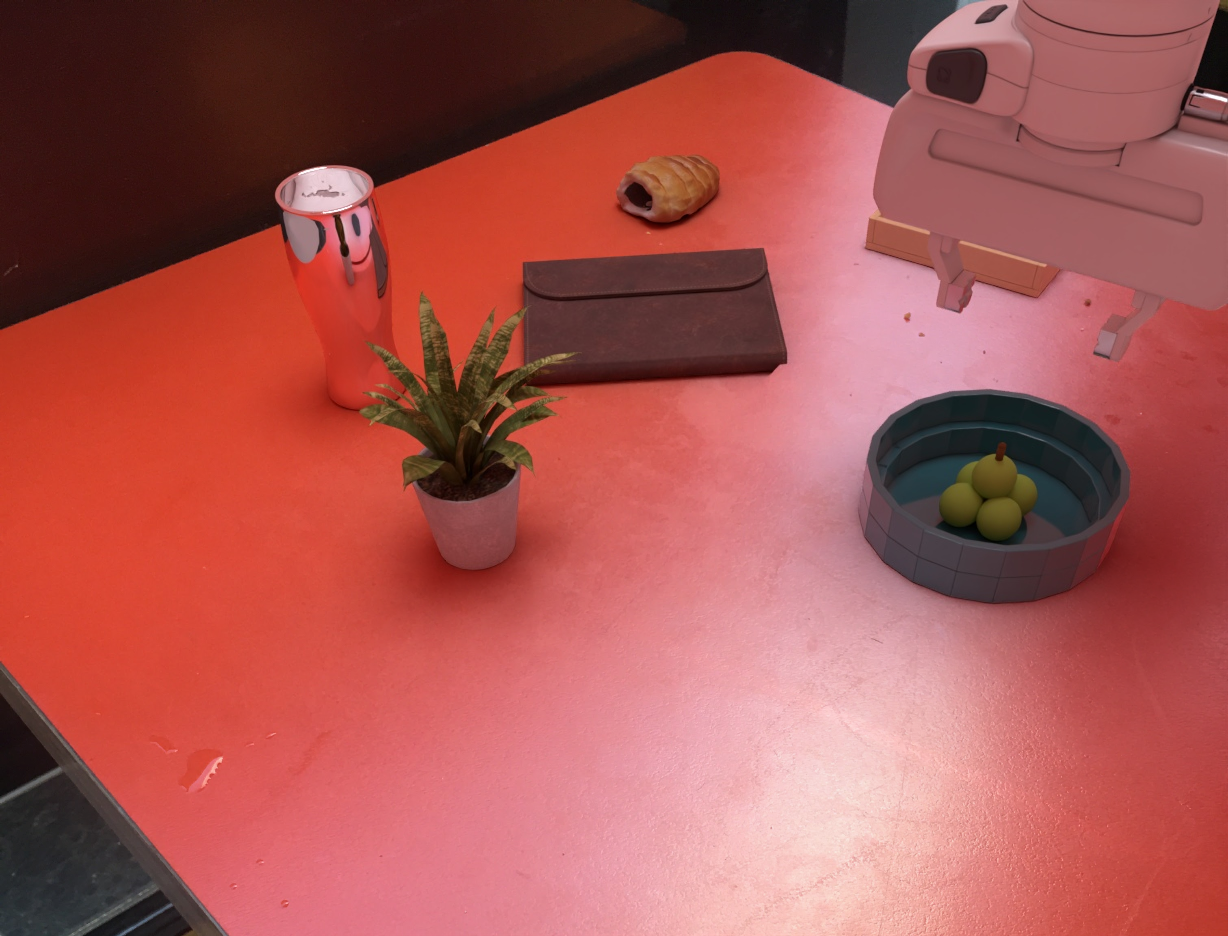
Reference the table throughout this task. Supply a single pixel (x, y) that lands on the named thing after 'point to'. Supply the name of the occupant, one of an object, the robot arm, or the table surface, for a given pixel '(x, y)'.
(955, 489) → the grapes
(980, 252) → the tray
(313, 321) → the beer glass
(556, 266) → the notebook
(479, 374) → the house plant
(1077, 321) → the table surface
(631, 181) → the pastry
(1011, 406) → the bowl
